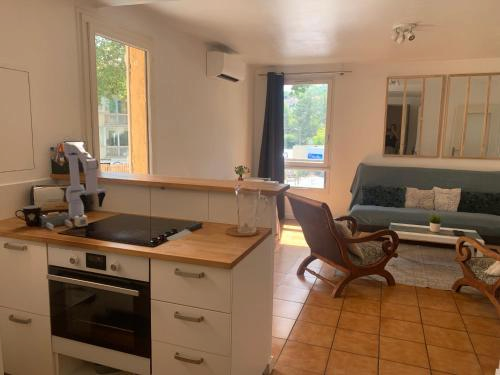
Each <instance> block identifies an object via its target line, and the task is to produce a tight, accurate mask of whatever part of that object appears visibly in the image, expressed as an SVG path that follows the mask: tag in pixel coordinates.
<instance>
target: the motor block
mask: <svg viewBox="0 0 500 375" xmlns="http://www.w3.org/2000/svg"><path fill="white" fill-rule="evenodd" d="M64 220H68V221H70V222H71V218H70V214H69V212H65V211H64V212H59V211H55V212H48V213H47V214H41V216H39V226H38V227H40V226H41V229H43V228H47V227H46V222H49V223H50V224H52V225H53V226H54V227H56V226H61V225H65V221H64Z"/></svg>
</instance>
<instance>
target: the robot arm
mask: <svg viewBox="0 0 500 375" xmlns="http://www.w3.org/2000/svg"><path fill="white" fill-rule="evenodd" d="M63 150H64V156H65V157H66V158H68V167H69V169H68V170H69V179H70V185H69V186H68V187H67V188H66V190H65V198H66V201H67V203H68V214H70V219H72V220H75V219H74V216H78V215H79V214H83V215H85V211H84V209H85V210H87V209H88V196H87V195H97V197H98V198H97V199H98V207H99V208H102V206H103V202H104V199H105V197H106V195H107V192H108V191H107V189H106V188H101V189H99V184H98V183H99V181H98V170H99V166H100V165H99V161H98V160H97V158H93V156H92V155H91V154H90V153H89V152H87V151H86V144H85V142H84V141H69V142H68V141H66V142H64V145H63ZM79 161H80V162H81V164H82V168H83V173H84V176H85V187H83V186H82V185H81V182H80V180H81V179H80V171H79V170H80V169H79Z"/></svg>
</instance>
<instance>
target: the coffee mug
mask: <svg viewBox="0 0 500 375" xmlns="http://www.w3.org/2000/svg"><path fill="white" fill-rule="evenodd" d="M18 212H22V213H23V216H24V218H22V217H20V216H19V215H17V214H18ZM14 215H15V217H17V218H18V219H20V220H22V221H24V222H25V224H26V227H27V226H29V228H33V226H35V227H40V226H39V216H42V205H28V206H27V205H26V206H23V207H22V209H19V210H16V211H15V213H14Z"/></svg>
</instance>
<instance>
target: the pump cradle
mask: <svg viewBox="0 0 500 375" xmlns="http://www.w3.org/2000/svg"><path fill="white" fill-rule="evenodd" d="M64 221H65V224H64V225H65V226H67V227H68V228H73V222H71V220H70V221H68V220H64ZM54 227H55V226H53V225H52V224H50V223H49V222H46V227H45V228H47V229H49V230H50V231H55V228H54Z"/></svg>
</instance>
